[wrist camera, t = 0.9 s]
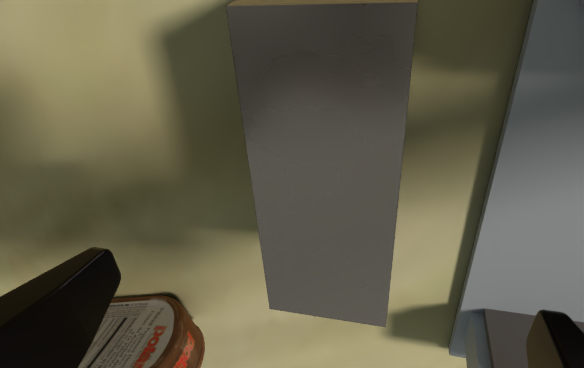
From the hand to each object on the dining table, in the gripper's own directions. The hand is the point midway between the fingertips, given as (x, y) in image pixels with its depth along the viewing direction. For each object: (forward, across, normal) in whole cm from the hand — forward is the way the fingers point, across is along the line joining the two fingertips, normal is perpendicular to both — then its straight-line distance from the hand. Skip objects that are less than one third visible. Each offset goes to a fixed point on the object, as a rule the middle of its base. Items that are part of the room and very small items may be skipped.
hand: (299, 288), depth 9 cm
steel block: (+9, 0, 0) cm, 9 cm away
